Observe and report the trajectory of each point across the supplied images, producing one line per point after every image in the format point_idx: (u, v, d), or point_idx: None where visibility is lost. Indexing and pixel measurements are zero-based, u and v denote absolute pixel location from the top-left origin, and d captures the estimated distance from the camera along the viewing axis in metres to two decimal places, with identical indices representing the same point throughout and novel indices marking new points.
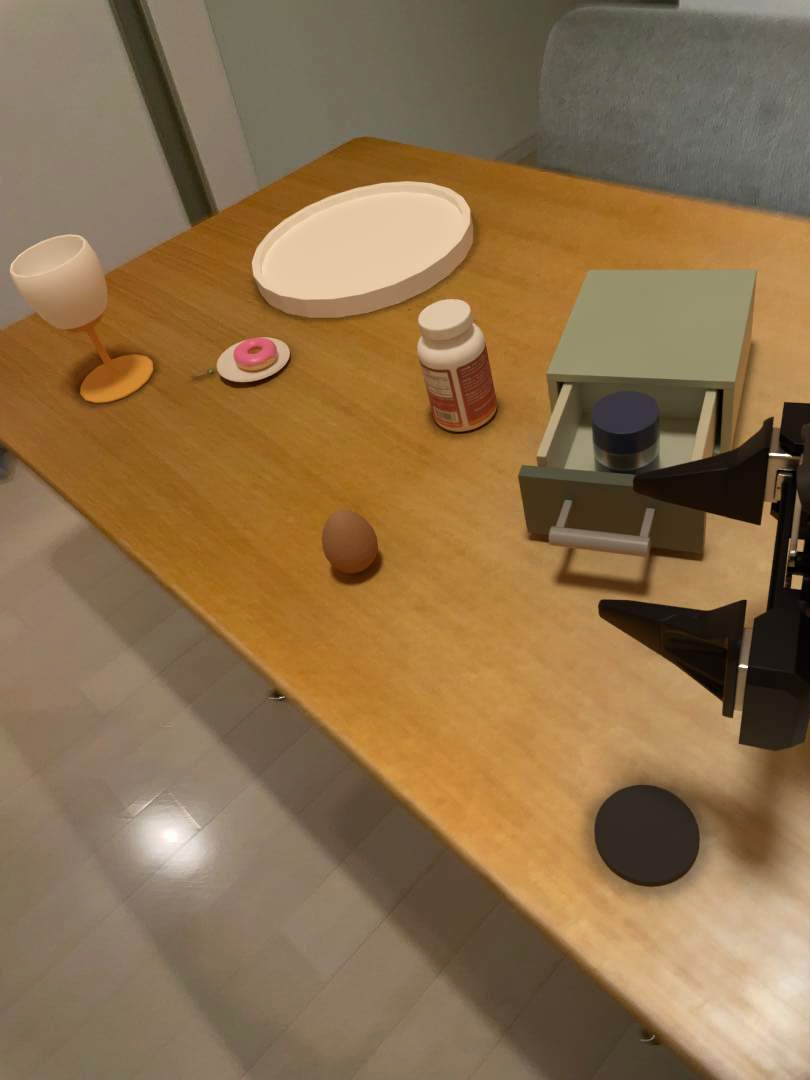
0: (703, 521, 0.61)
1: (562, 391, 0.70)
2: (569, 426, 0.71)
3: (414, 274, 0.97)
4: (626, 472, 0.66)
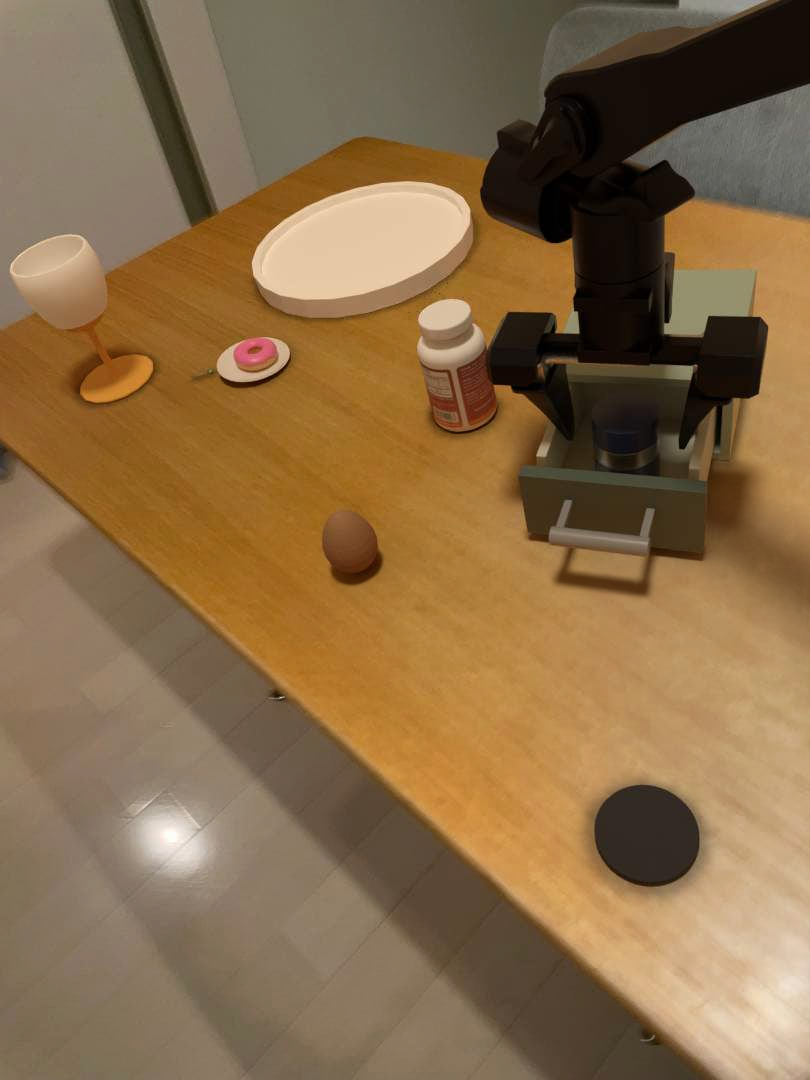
0: (703, 521, 0.61)
1: None
2: None
3: (414, 274, 0.97)
4: (626, 472, 0.66)
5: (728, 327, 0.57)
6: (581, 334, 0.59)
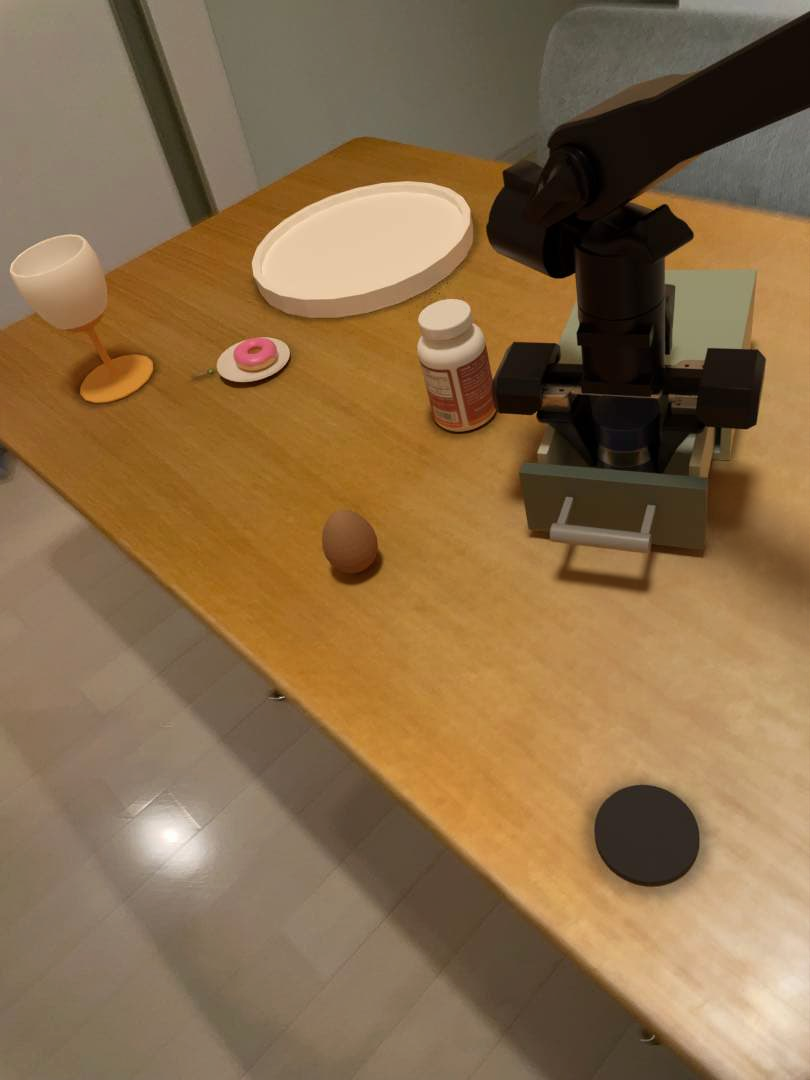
0: (704, 518, 0.61)
1: None
2: None
3: (414, 274, 0.97)
4: (627, 469, 0.66)
5: (726, 359, 0.59)
6: (584, 366, 0.61)
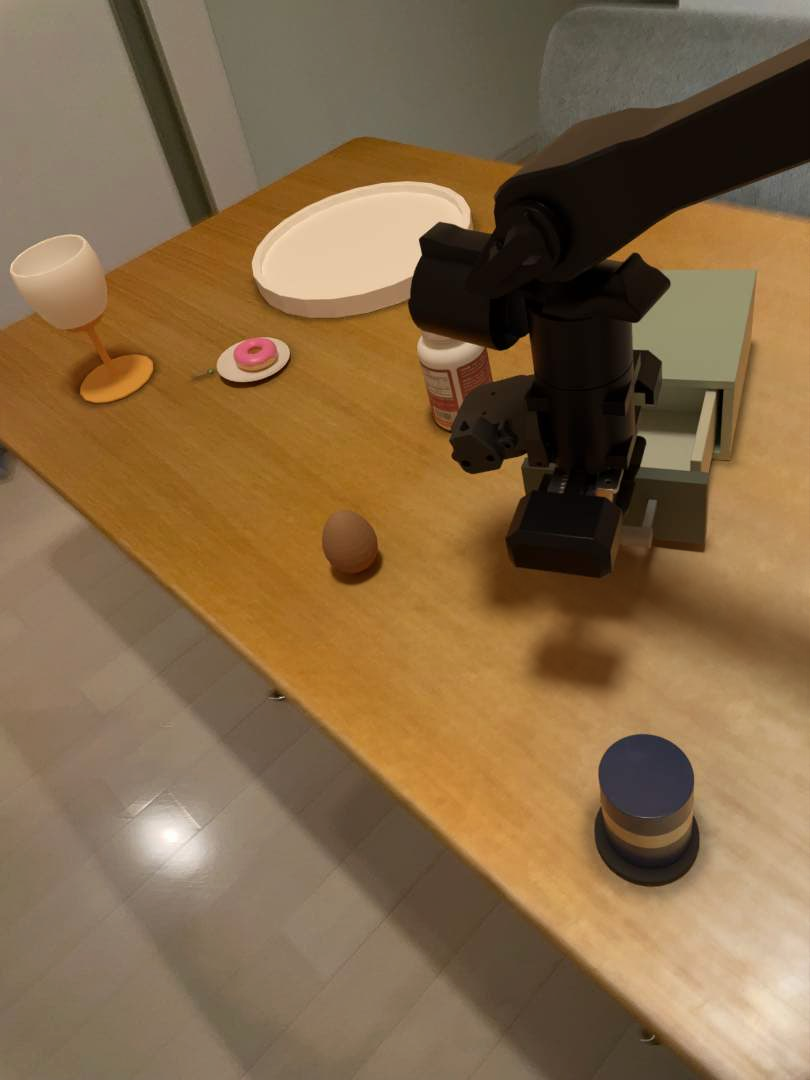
0: (705, 512, 0.62)
1: None
2: None
3: None
4: (647, 849, 0.48)
5: None
6: (605, 450, 0.51)
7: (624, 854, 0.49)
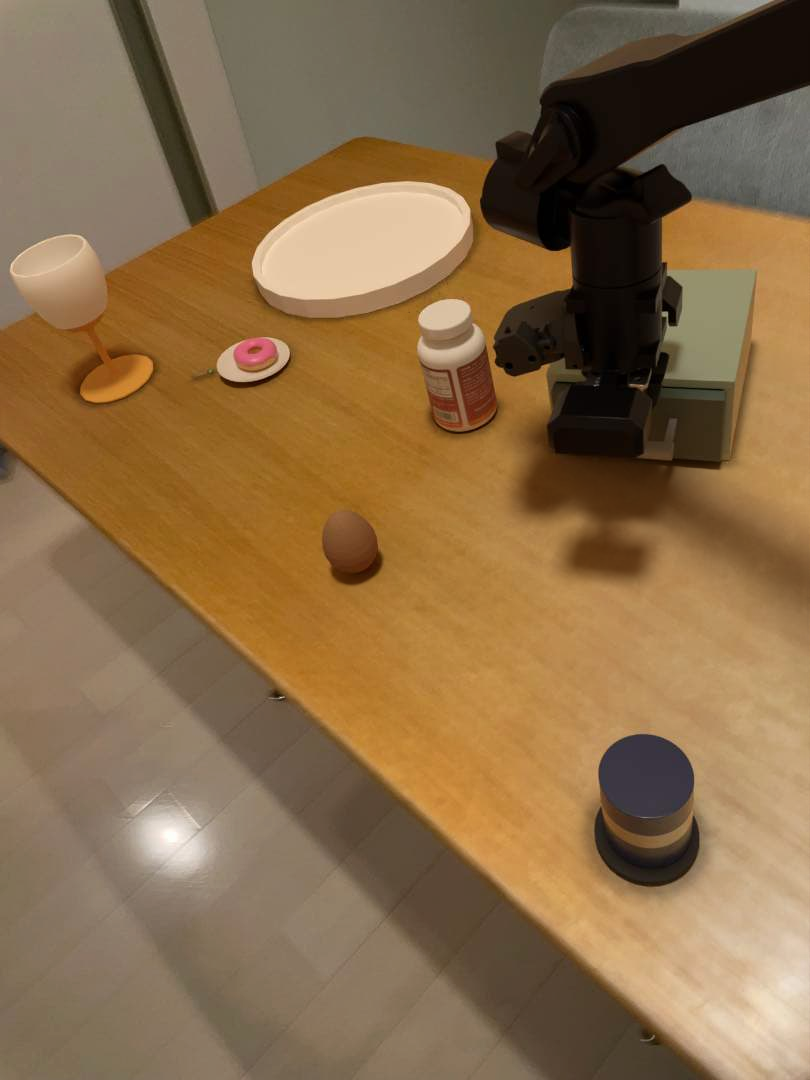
0: (721, 429, 0.67)
1: None
2: None
3: (414, 274, 0.97)
4: (647, 849, 0.48)
5: None
6: (636, 349, 0.57)
7: (624, 854, 0.49)
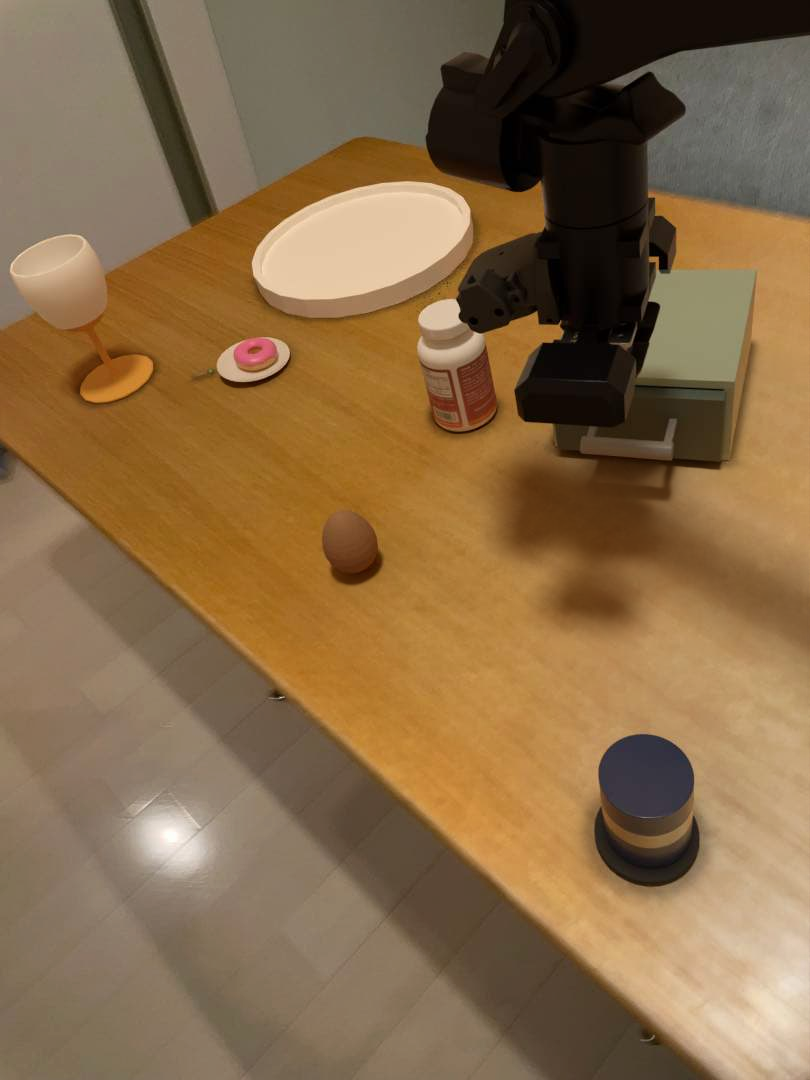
0: (721, 429, 0.67)
1: None
2: None
3: (414, 274, 0.97)
4: (647, 849, 0.48)
5: None
6: (618, 300, 0.49)
7: (624, 854, 0.49)
